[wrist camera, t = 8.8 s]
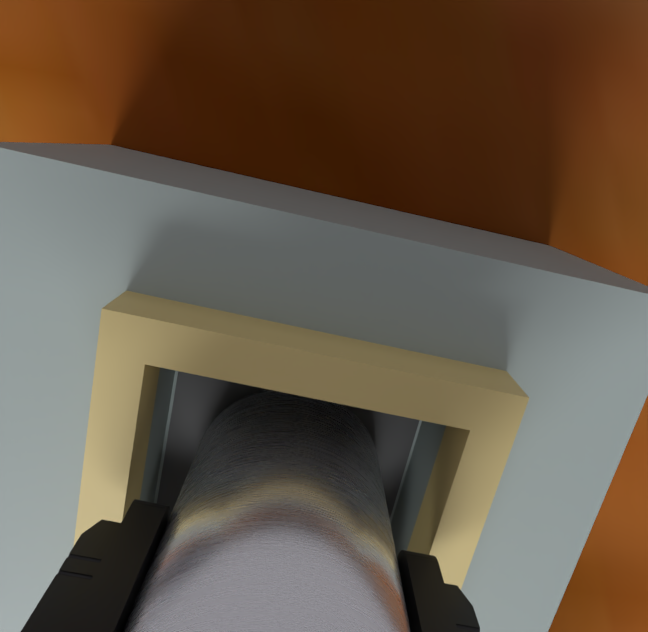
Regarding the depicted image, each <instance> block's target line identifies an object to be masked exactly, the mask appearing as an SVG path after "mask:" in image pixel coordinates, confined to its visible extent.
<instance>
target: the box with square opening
mask: <svg viewBox="0 0 648 632" xmlns="http://www.w3.org/2000/svg"><path fill="white" fill-rule="evenodd" d="M264 390H274V391H279V392H284V393H289V394H294V395H298V396H303V397H308V398H313V399H318V400H323V401H328V402H333V403H338V404H342V405H343V406H344V407H346V408H347V409H348V410H350V411H351V412H352V413H353V414H354V415H355V416H356V417H357V418H358V419H359V420H360V421H361V423H362V424H363V425H364V426H365V428H366V429H367V431H368V433H369V434H370V436H371V438H372V440H373V443H374V445H375V448H376V452H377V456H378V461H379V466H380V471H381V477H382V482H383V487H384V492H385V498H386V503H387V508H388V514H389V519H390V524H391V530H392V535H393V540H394V545H395V551H396V556H398V554H399V552H400V551H401V550H406V551H411V552H417V553H422V554H427V555H433V556H435V557H436V558H437V560H438V563H439V566H440V570H441V573H442V577H443V580H444V583H446V584H452V585H457V586H458V587H459V589H460V590H461V591H462V592H463V594H464V595H465V596H466V598H467V599H468V600H469V602H470V603H471V604H472V606H473V608H474V611H475V614H476V617H477V620H478V623H479V626H480V632H548V630H549V628H550V626H551V623H552V621H553V618H554V616H555V614H556V611H557V609H558V607H559V604H560V602H561V599H562V597H563V595H564V592H565V590H566V588H567V585H568V583H569V580H570V578H571V576H572V573H573V571H574V569H575V566H576V564H577V561H578V559H579V557H580V554H581V552H582V550H583V547H584V545H585V542H586V540H587V538H588V535H589V533H590V531H591V528H592V526H593V523H594V521H595V519H596V516H597V514H598V512H599V509H600V507H601V504H602V502H603V500H604V497H605V495H606V493H607V490H608V488H609V485H610V483H611V481H612V478H613V476H614V474H615V471H616V469H617V466H618V464H619V462H620V459H621V457H622V455H623V452H624V450H625V447H626V445H627V443H628V440H629V438H630V436H631V433H632V431H633V428H634V426H635V424H636V421H637V419H638V417H639V414H640V412H641V409H642V407H643V405H644V402H645V400H646V398H647V395H648V286H645V285H643V284H641V283H638V282H636V281H633V280H631V279H629V278H626V277H624V276H621V275H619V274H617V273H614V272H612V271H609V270H607V269H605V268H602V267H600V266H597V265H595V264H593V263H590V262H588V261H585V260H583V259H581V258H578V257H576V256H573V255H571V254H569V253H566V252H564V251H561V250H559V249H557V248H554V247H552V246H549V245H545V244H541V243H536V242H532V241H528V240H523V239H519V238H515V237H510V236H506V235H501V234H497V233H493V232H488V231H484V230H480V229H475V228H471V227H467V226H462V225H458V224H454V223H449V222H445V221H440V220H436V219H432V218H427V217H423V216H419V215H414V214H410V213H406V212H401V211H397V210H392V209H388V208H384V207H379V206H375V205H371V204H366V203H362V202H358V201H353V200H349V199H345V198H340V197H336V196H331V195H327V194H323V193H318V192H314V191H310V190H305V189H301V188H297V187H292V186H288V185H283V184H279V183H275V182H270V181H266V180H262V179H257V178H253V177H249V176H244V175H240V174H236V173H231V172H227V171H222V170H218V169H214V168H209V167H205V166H201V165H196V164H192V163H188V162H183V161H179V160H174V159H170V158H166V157H161V156H157V155H153V154H148V153H144V152H140V151H135V150H131V149H127V148H122V147H118V146H113V145H100V144H58V143H16V142H0V632H21V630H22V629H23V627H24V625H25V624H26V622H27V621H28V619H29V617H30V616H31V614H32V612H33V611H34V609H35V608H36V606H37V604H38V603H39V601H40V600H41V598H42V596H43V595H44V593H45V592H46V590H47V588H48V587H49V585H50V584H51V582H52V580H53V579H54V577H55V576H56V574H58V572H59V569H60V568H61V566H62V564H63V563H64V561H65V560H66V558H68V556H69V553H70V551H71V550H72V548H73V547H74V545H75V543H76V542H77V540H78V539H79V537H80V535H81V534H82V533H84V532H85V531H86V530H88V529H89V528H91V527H92V526H93V525H95V524H96V523H97V522H99V521H100V520H102V519H103V520H108V521H113V522H119V523H121V522H122V521H123V519H124V517H125V515H126V513H127V511H128V509H129V507H130V506H131V504H132V502H133V501H134V500H135V499H137V500H142V501H148V502H153V503H159V504H164V505H169V516H168V520H169V518H170V516H171V513H172V511H173V508H174V506H175V503H176V501H177V499H178V496H179V494H180V491H181V489H182V486H183V484H184V482H185V479H186V477H187V474H188V472H189V469H190V467H191V465H192V462H193V460H194V457H195V455H196V452H197V450H198V448H199V445H200V443H201V440H202V438H203V436H204V434H205V432H206V430H207V429H208V427H209V426H210V424H211V423H212V422H213V421H214V419H215V418H216V417H217V416H218V415H219V414H220V413H221V412H222V411H223V410H224V409H226V408H227V407H228V406H230V405H231V404H233V403H234V402H236V401H238V400H240V399H242V398H244V397H245V396H248V395H251V394H254V393H256V392H260V391H264ZM167 523H168V522H167Z"/></svg>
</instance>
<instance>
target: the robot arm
mask: <svg viewBox="0 0 648 632" xmlns="http://www.w3.org/2000/svg"><path fill="white" fill-rule="evenodd" d="M168 516H169V505H164V504H159V503H153V502H148V501H142V500H137V499H135V500H134V501H133V502H132V504H131V506H130V507H129V509H128V511H127V513H126V515H125V517H124V519H123V521H122V522H121V523H119V522H113V521H108V520H103V519H102V520H100V521H99V522H97V523H96V524H95V525H93V526H92V527H91V528H89V529H88V530H86V531H85V532H84V533H82V534H81V535H80V537H79V539H78V540H77V542H76V543H75V545H74V547H73V548H72V550H71V551H70V553H69V556H68V558H66V560H65V561H64V563H63V564H62V566H61V568H60V569H59V572H58V574H56V576H55V577H54V579H53V580H52V582H51V584H50V585H49V587H48V588H47V590H46V592H45V593H44V595H43V596H42V598H41V600H40V601H39V603H38V604H37V606H36V608H35V609H34V611H33V612H32V614H31V616H30V617H29V619H28V621H27V622H26V624H25V625H24V627H23V629H22V630H21V632H123V630H124V627H125V625H126V622H127V620H128V618H129V615H130V613H131V610H132V608H133V605H134V603H135V601H136V598H137V596H138V593H139V591H140V588H141V586H142V584H143V581H144V579H145V576H146V574H147V571H148V569H149V567H150V564H151V562H152V559H153V557H154V554H155V552H156V550H157V547H158V545H159V542H160V540H161V537H162V535H163V533H164V530H165V528H166V525H167V522H168ZM397 561H398V567H399V572H400V577H401V582H402V588H403V593H404V598H405V604H406V609H407V614H408V619H409V625H410V630H411V632H480V626H479V623H478V620H477V617H476V614H475V611H474V608H473V606H472V604H471V603H470V602H469V600H468V599H467V598H466V596H465V595H464V594H463V592H462V591H461V590H460V589H459V587H458V586H457V585H452V584H446V583H444V580H443V577H442V573H441V570H440V566H439V563H438V560H437V558H436V557H435V556H433V555H427V554H422V553H417V552H411V551H406V550H401V551H400V552H399V554H398V556H397Z"/></svg>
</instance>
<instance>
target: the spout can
mask: <svg viewBox="0 0 648 632" xmlns="http://www.w3.org/2000/svg"><path fill="white" fill-rule="evenodd" d="M123 632H411V630H410V625H409V619H408V614H407V609H406V604H405V598H404V593H403V588H402V582H401V577H400V572H399V567H398V561H397V556H396V551H395V545H394V540H393V535H392V530H391V524H390V519H389V514H388V508H387V503H386V498H385V492H384V487H383V482H382V477H381V471H380V466H379V461H378V456H377V452H376V448H375V445H374V443H373V440H372V438H371V436H370V434H369V433H368V431H367V429H366V428H365V426H364V425H363V424H362V423H361V421H360V420H359V419H358V418H357V417H356V416H355V415H354V414H353V413H352V412H351V411H350V410H348V409H347V408H346V407H344V406H343V405H342V404H338V403H333V402H328V401H323V400H318V399H313V398H308V397H303V396H298V395H294V394H289V393H284V392H279V391H274V390H264V391H260V392H256V393H254V394H251V395H248V396H245V397H244V398H242V399H240V400H238V401H236V402H234V403H233V404H231V405H230V406H228V407H227V408H226V409H224V410H223V411H222V412H221V413H220V414H219V415H218V416H217V417H216V418H215V419H214V421H213V422H212V423H211V424H210V426H209V427H208V429H207V430H206V432H205V434H204V436H203V438H202V440H201V443H200V445H199V448H198V450H197V452H196V455H195V457H194V460H193V462H192V465H191V467H190V469H189V472H188V474H187V477H186V479H185V482H184V484H183V486H182V489H181V491H180V494H179V496H178V499H177V501H176V503H175V506H174V508H173V511H172V513H171V516H170V518H169V520H168V523H167V525H166V528H165V530H164V533H163V535H162V537H161V540H160V542H159V545H158V547H157V550H156V552H155V554H154V557H153V559H152V562H151V564H150V567H149V569H148V571H147V574H146V576H145V579H144V581H143V584H142V586H141V588H140V591H139V593H138V596H137V598H136V601H135V603H134V605H133V608H132V610H131V613H130V615H129V618H128V620H127V622H126V625H125V627H124V630H123Z"/></svg>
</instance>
